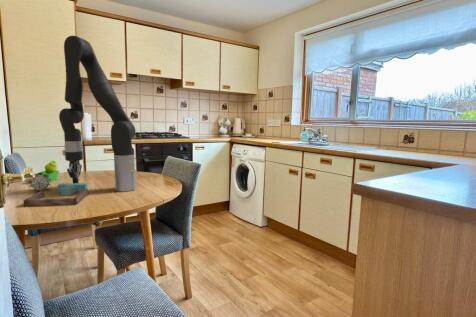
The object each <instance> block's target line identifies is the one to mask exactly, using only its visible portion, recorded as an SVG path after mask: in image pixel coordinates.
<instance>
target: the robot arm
mask: <svg viewBox="0 0 476 317" xmlns="http://www.w3.org/2000/svg"><path fill="white" fill-rule="evenodd" d="M93 48H94V47H92V45H91V43H90V42H89V41H87V40H86V39H84V38H81V37H79V36H76V35H69V36H68V37H66V38H65V40H64V42H63V54H64V63H65V89H64V90H65V92H64V101H65V102H66V103H67V104H69V105H70V108H68V107H67V108H63V109H61V110H60V112H59V114H58V115H59V116H58V119H59V122H60V123H59V124H60V125H61V128H62V131H63V133H64V134H63V137H64V158H65V159H64V160H65V161H67V162H69V163H68V168H67V169H66V171H67V173H68V176H69V177H70V179H72V183H80V182H79V181H80V180H79V178H80V176H81V173H82V168H83V165H82V164H81V163H80V161H83V159H84V153H83V151H84V150H83V142H82V131H81V130H80V129H79V128H76V126H75V124H80V123H82V121H83V120H84V118H85V114H84V113H85V112H84V107H83V102H82V99H83V90H84V89H83V88H84V86H83V81H82V80H83V79H82V76H81V70H80V64H81V65H82V67H83V68H84V70H85V73H86V76H87V84H88V87H89V90H90V92H91V94H92V96H93V98H94V99H95V100H96V102H97V104H99V106H100V107H101V108H102V109H103V110H104V111H105V112H106V113H107V114H108V116H109V117H110V118H111V121H112V123H113V125H112V126H111V128H110V139H111V140H110V142H111V148H112V152H113V162H114V163H113V165H114V166H113V167H114V168H113V169H114V190H115V191H116V192H129V191H135V190H136V189H137V174H136V173H137V171H136V170H137V169H136V164H135V162H136V160H135V149H134V148H133V147H134V146H133V144H132V139H133V138H134V137H135V135H136V128H135V125H134V124H133V122H132V121H131V119H130V118H129V116H128V115H127V113H126V112H125V110H124V108H123V106H122V103H121V102H120V100H119V98H118V96H117V95H116V92H115V91H114V88H113V86H112V84H111V82H110V81H109V79H108V77H107V75H106V74H105V72H104V70H103V69H102V67H101V65H100V62H99V60H98V59H97V56H96V53H95V51H94V49H93Z"/></svg>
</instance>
